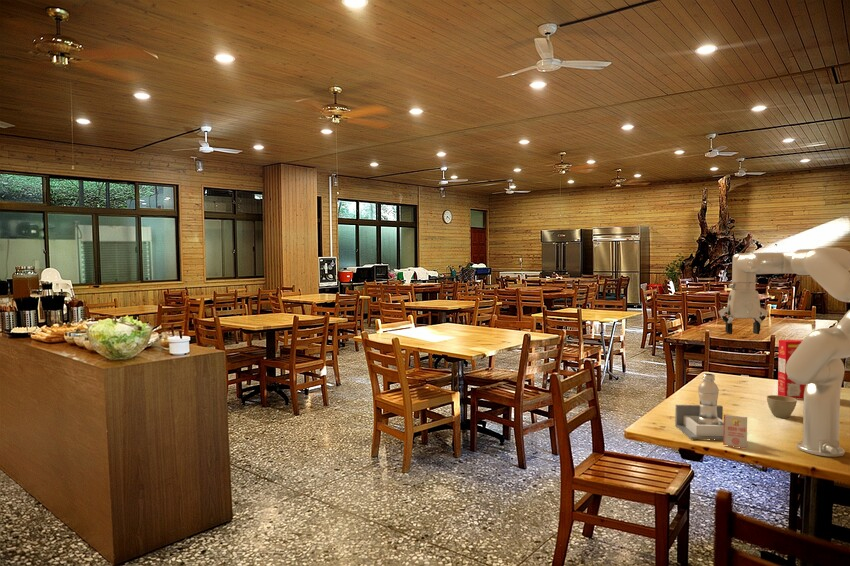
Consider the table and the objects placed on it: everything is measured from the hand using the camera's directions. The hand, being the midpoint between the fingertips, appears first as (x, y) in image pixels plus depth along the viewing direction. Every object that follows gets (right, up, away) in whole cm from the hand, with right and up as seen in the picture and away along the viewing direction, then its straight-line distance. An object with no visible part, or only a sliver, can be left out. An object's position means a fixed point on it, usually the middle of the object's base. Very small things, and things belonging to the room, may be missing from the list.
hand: (742, 333), depth 210 cm
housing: (-17, -35, -8) cm, 39 cm away
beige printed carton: (-14, -35, -21) cm, 44 cm away
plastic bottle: (-17, -34, -8) cm, 39 cm away
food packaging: (+48, -32, +42) cm, 71 cm away
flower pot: (+22, -34, +12) cm, 42 cm away
